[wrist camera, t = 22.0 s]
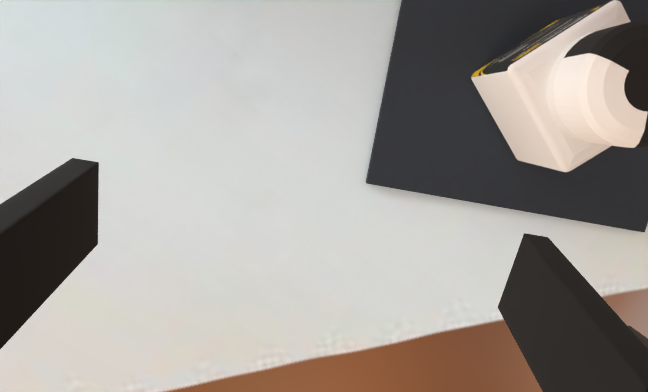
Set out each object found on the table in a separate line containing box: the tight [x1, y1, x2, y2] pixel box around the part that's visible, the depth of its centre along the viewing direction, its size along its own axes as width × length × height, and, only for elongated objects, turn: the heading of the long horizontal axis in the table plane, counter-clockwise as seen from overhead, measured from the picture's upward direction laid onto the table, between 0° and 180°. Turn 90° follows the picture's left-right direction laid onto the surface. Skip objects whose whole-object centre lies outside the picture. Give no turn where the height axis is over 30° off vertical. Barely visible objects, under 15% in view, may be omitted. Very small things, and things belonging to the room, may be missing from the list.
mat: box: [366, 0, 648, 232], centre depth 36 cm, size 17×21×1 cm
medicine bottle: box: [471, 0, 648, 172], centre depth 30 cm, size 7×7×12 cm
